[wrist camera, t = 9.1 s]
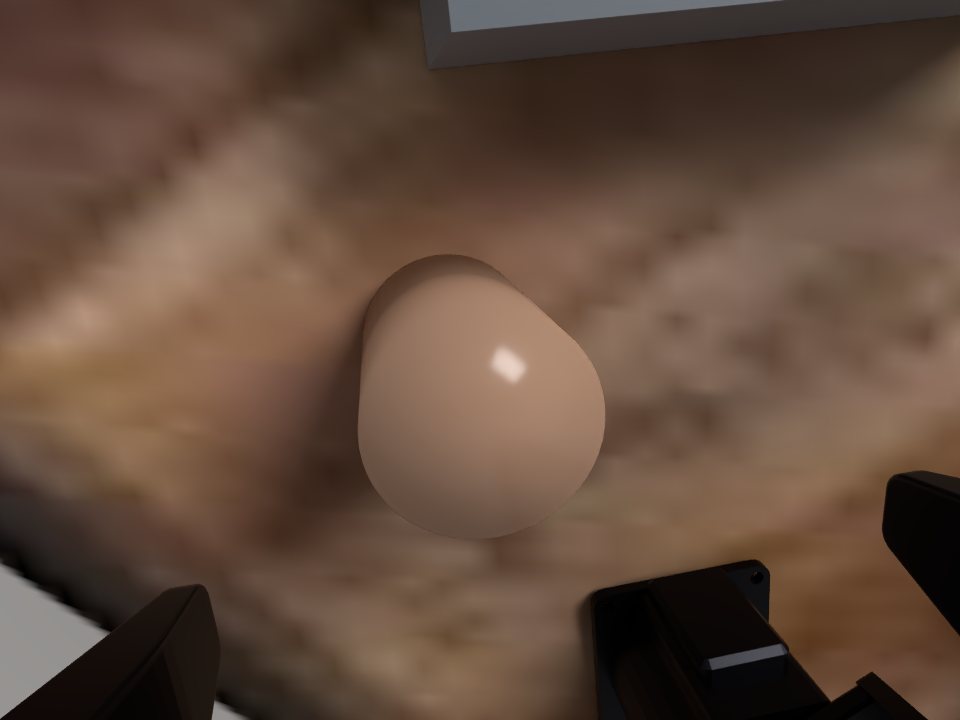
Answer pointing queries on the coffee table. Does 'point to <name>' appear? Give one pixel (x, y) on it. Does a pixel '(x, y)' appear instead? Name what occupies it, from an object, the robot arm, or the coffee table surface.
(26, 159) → the coffee table surface
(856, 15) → the box
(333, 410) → the coffee table surface
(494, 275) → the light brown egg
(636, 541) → the coffee table surface
